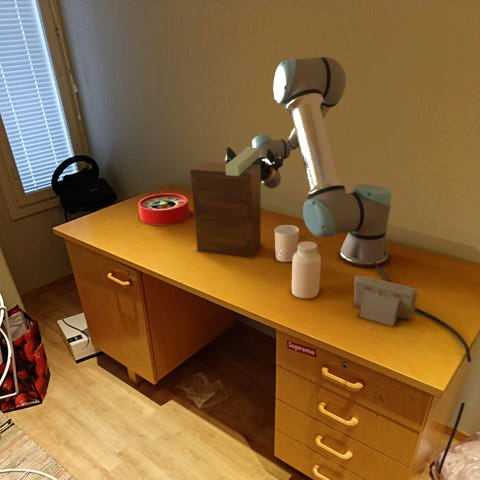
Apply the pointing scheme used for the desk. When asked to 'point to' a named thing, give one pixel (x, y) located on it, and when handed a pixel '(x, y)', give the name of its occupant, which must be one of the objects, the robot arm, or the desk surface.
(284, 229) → the white cup
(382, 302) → the digital clock
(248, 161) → the pencil tin
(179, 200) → the toy clock
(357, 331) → the desk surface
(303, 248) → the pill bottle
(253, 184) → the shelf stand
